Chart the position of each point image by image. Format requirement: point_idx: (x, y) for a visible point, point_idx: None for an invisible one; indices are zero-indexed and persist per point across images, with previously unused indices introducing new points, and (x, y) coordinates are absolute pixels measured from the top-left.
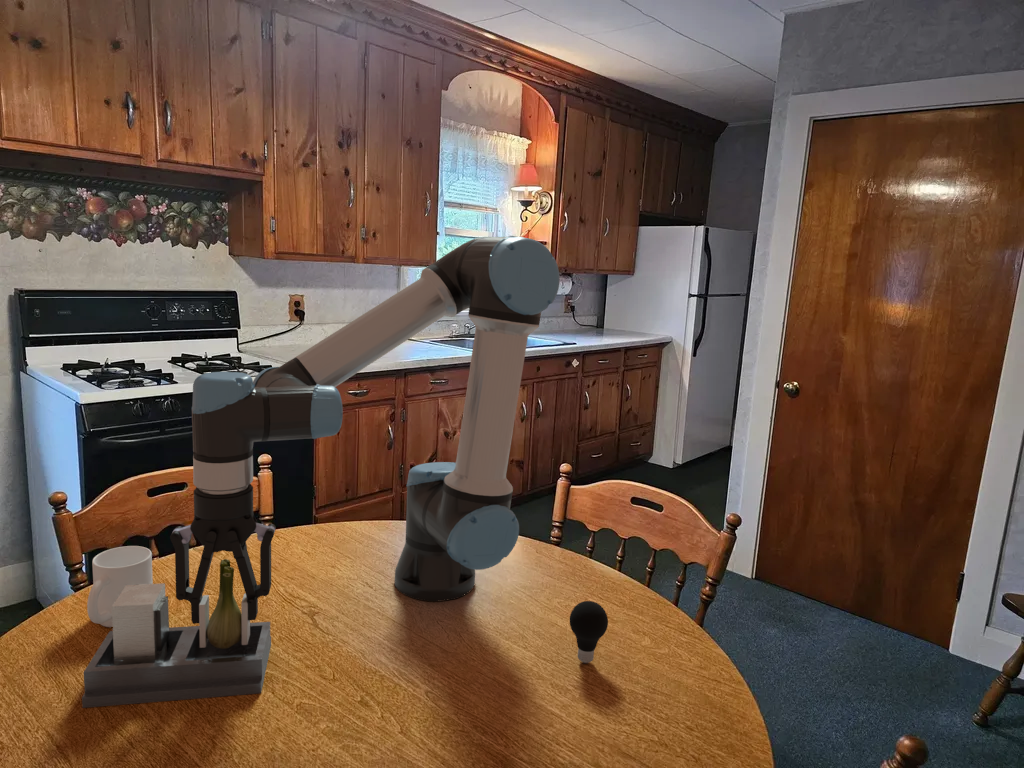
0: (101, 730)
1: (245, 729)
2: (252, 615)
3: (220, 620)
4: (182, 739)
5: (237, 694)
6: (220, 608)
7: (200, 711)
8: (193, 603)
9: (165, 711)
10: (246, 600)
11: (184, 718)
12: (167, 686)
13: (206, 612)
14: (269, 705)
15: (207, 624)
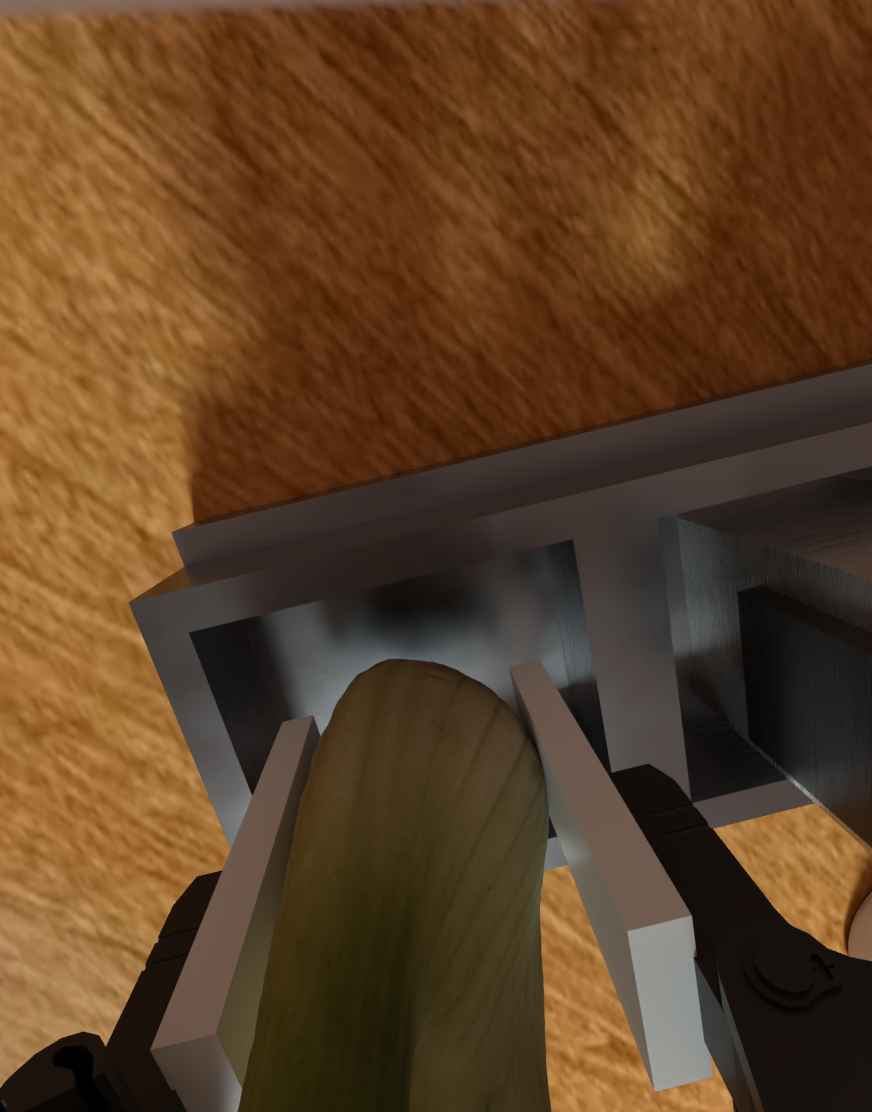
0: (762, 206)
1: (137, 255)
2: (198, 909)
3: (407, 776)
4: (392, 161)
5: (291, 499)
6: (432, 904)
7: (401, 372)
8: (766, 922)
9: (550, 360)
10: (108, 1082)
11: (449, 317)
12: (601, 465)
13: (586, 869)
14: (113, 442)
15: (551, 797)
